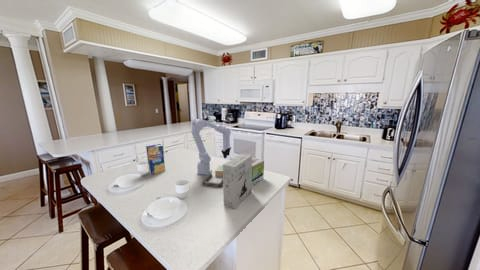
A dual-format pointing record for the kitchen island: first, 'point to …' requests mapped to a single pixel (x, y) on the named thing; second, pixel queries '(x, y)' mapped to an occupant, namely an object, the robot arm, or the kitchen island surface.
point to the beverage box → (155, 158)
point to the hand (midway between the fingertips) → (226, 156)
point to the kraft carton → (219, 171)
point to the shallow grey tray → (206, 183)
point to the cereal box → (237, 180)
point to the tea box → (257, 170)
